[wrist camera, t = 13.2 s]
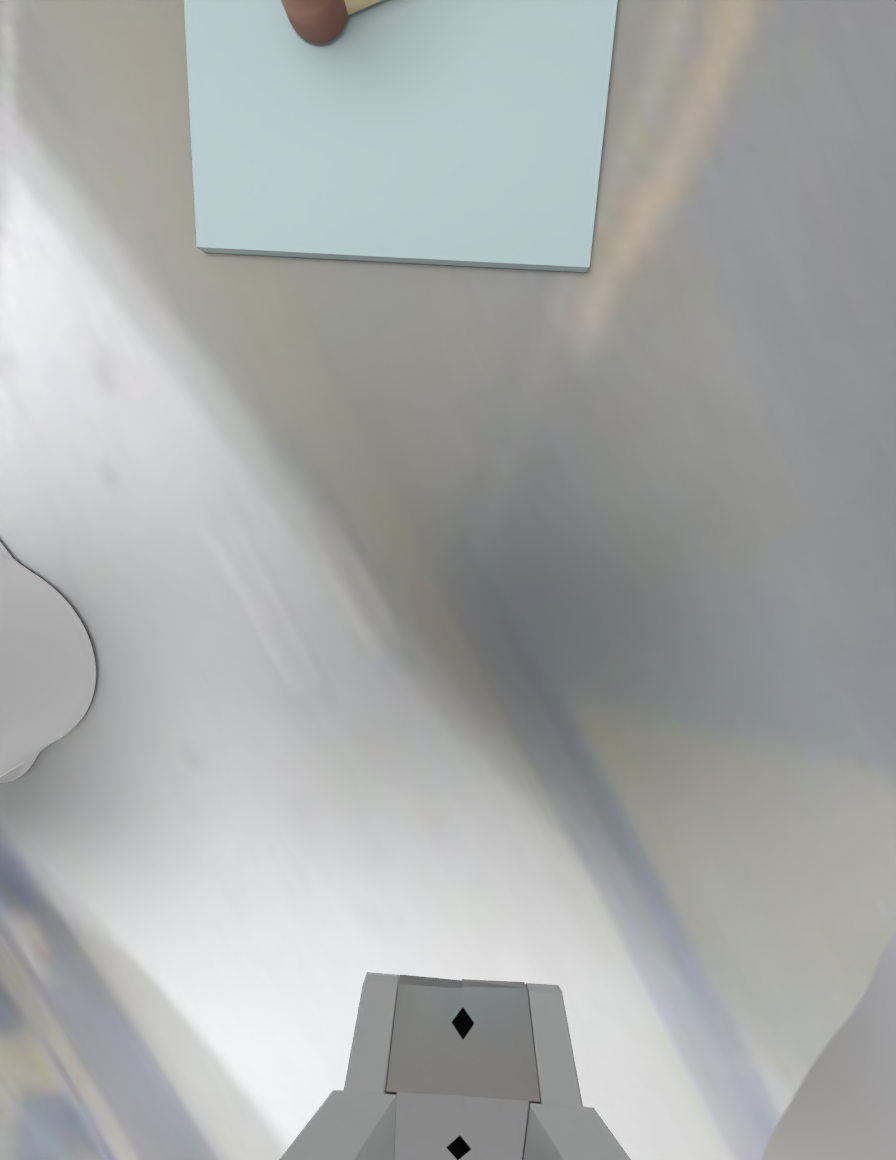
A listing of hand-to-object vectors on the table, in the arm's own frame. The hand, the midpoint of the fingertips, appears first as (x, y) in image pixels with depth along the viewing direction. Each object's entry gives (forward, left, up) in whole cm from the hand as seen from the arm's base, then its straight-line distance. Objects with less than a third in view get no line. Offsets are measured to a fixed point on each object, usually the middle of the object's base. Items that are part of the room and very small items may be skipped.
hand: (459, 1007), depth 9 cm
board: (-5, +29, -29) cm, 41 cm away
